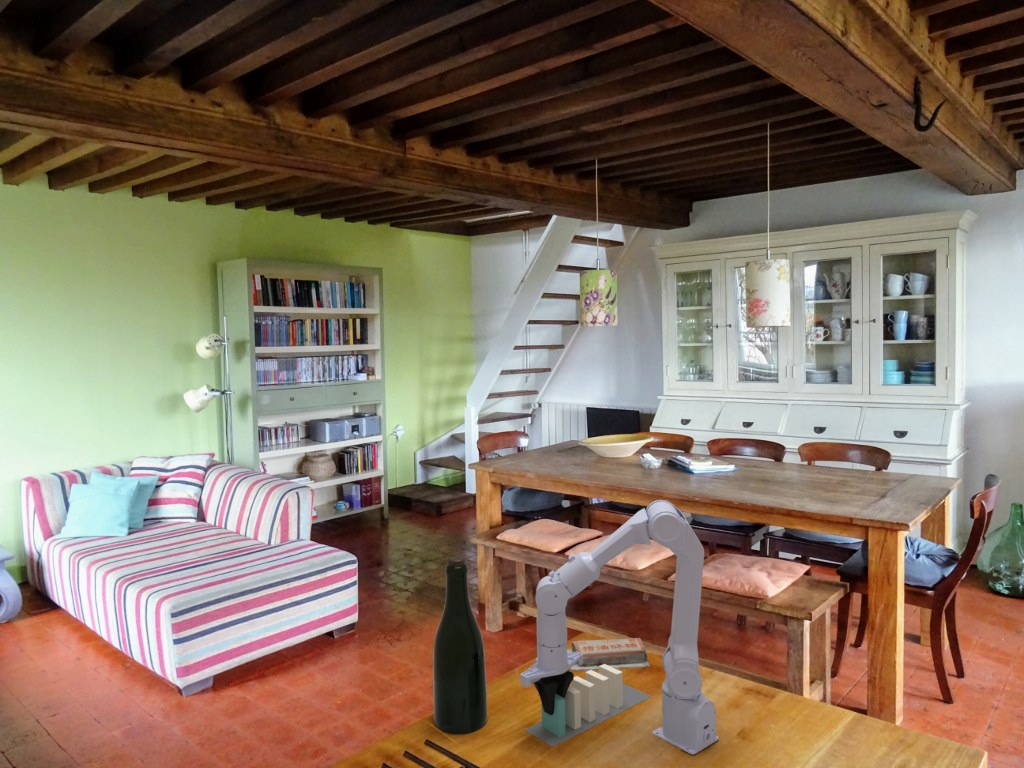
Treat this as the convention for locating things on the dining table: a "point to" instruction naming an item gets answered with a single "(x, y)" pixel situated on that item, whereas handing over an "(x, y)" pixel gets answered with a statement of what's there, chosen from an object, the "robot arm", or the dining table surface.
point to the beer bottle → (459, 659)
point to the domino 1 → (555, 717)
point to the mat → (629, 700)
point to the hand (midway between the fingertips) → (553, 710)
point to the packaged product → (610, 653)
